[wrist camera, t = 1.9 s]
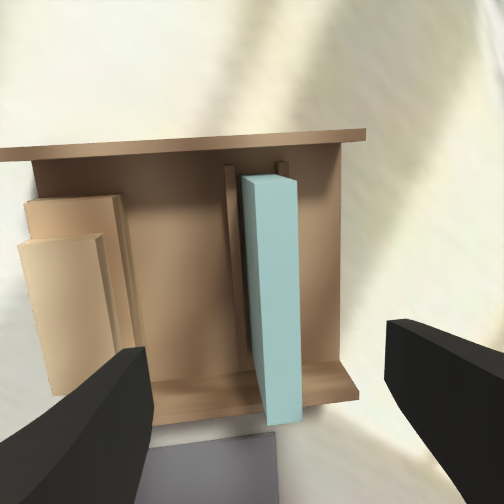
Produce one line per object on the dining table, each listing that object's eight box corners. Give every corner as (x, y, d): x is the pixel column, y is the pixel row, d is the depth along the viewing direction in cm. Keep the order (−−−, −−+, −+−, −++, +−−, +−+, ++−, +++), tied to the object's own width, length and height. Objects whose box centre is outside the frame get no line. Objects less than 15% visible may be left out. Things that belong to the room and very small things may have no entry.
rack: (86, 389, 21) (55, 447, 17) (36, 149, 18) (-18, 148, 13) (334, 360, 23) (363, 407, 18) (335, 133, 19) (371, 127, 15)
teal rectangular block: (251, 351, 21) (267, 425, 15) (239, 174, 18) (254, 183, 13) (276, 348, 21) (302, 421, 15) (269, 172, 18) (297, 180, 13)
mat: (99, 531, 24) (97, 535, 24) (83, 457, 22) (81, 461, 22) (278, 504, 25) (279, 507, 25) (274, 431, 24) (275, 435, 23)
